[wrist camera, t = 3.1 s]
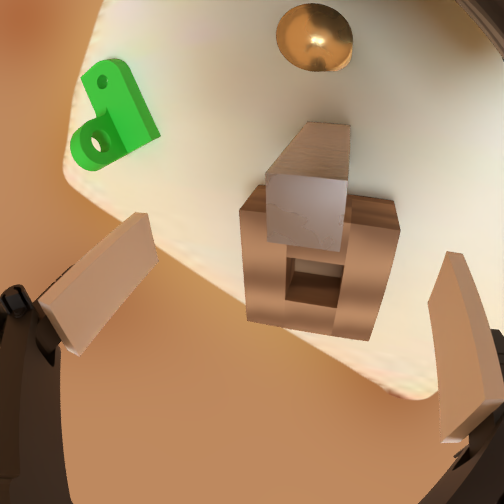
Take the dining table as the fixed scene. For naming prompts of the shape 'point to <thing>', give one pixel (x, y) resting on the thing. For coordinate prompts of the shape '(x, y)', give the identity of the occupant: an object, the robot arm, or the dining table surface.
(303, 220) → the square bit
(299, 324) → the bore block
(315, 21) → the round bit
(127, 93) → the mechanical part
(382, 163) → the dining table surface
